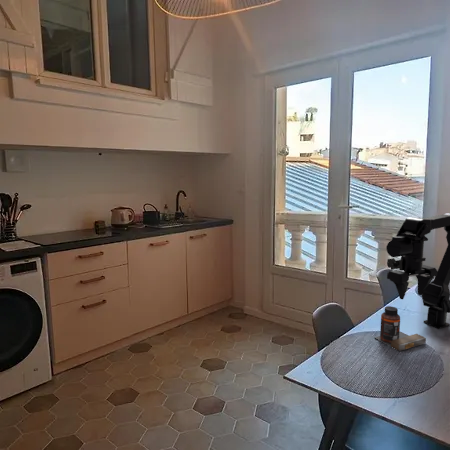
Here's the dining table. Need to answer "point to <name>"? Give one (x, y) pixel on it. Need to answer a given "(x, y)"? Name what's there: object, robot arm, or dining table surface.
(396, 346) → the rail
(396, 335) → the supplement bottle
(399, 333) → the front pad
